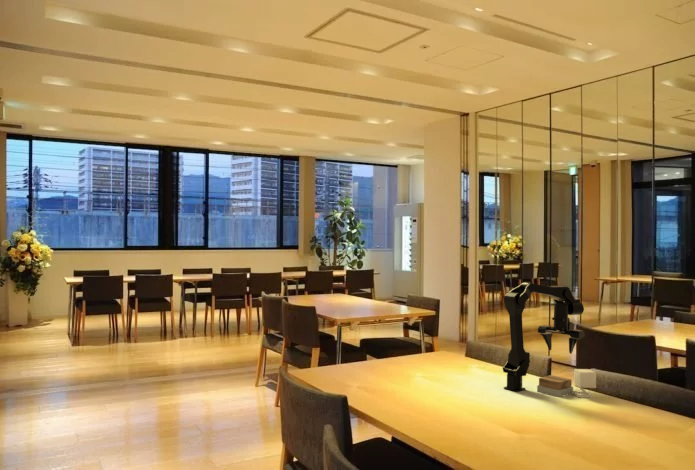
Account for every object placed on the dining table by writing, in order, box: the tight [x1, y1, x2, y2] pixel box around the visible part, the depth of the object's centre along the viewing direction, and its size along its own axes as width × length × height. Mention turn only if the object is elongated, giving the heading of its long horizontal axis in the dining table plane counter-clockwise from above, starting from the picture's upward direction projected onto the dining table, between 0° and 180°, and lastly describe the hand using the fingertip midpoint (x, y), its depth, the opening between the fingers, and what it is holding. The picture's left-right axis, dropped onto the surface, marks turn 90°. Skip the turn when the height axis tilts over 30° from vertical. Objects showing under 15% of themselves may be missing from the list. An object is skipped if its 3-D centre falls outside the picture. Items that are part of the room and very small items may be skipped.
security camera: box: [572, 368, 597, 398], centre depth 225 cm, size 6×7×10 cm
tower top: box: [538, 374, 573, 390], centre depth 230 cm, size 9×9×3 cm
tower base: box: [536, 384, 574, 398], centre depth 230 cm, size 10×10×3 cm
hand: (560, 351), depth 244 cm, fingers open, 9 cm apart
